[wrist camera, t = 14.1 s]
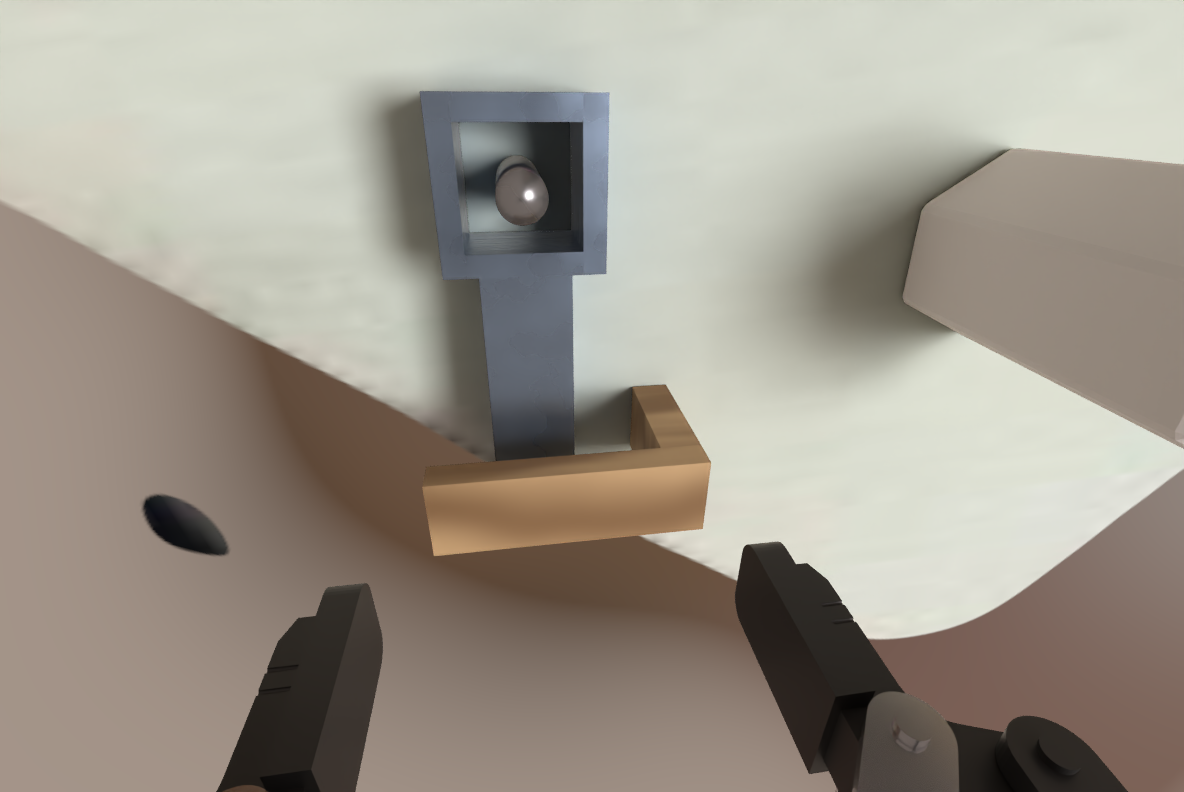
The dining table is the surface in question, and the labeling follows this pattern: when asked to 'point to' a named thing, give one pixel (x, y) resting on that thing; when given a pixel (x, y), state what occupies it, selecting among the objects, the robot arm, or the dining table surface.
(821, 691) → the robot arm
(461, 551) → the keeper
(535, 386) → the link
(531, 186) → the cylinder
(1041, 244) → the soap bottle
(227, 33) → the dining table surface
